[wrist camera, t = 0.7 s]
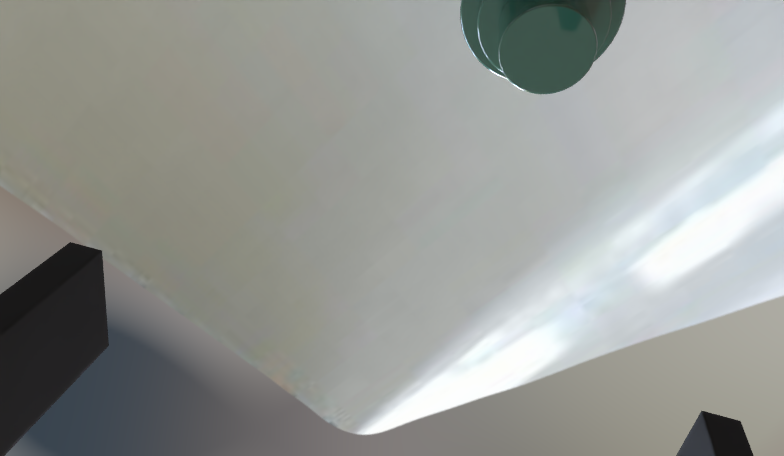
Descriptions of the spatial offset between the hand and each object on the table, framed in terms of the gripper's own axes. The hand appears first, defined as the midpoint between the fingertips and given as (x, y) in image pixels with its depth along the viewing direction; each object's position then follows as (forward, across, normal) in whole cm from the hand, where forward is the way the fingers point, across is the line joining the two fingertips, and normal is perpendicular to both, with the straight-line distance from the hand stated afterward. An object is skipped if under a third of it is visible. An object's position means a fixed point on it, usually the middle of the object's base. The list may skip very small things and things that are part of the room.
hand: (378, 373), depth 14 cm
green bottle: (+22, +1, +8) cm, 23 cm away
